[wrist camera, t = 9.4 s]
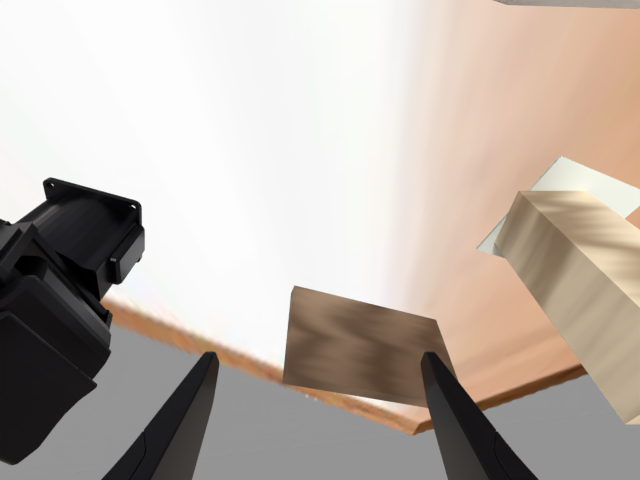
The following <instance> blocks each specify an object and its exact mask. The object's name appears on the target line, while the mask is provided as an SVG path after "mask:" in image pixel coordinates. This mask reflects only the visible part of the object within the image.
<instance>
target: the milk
mask: <svg viewBox="0 0 640 480" xmlns="http://www.w3.org/2000/svg"><path fill="white" fill-rule="evenodd" d="M494 1H497V2H500V3H502V4H506V5H520V6H553V7H585V8H617V9H640V0H494Z"/></svg>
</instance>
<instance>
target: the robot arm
mask: <svg viewBox="0 0 640 480" xmlns="http://www.w3.org/2000/svg"><path fill="white" fill-rule="evenodd" d="M52 184H53V185H54V186H53V185H52ZM43 188H44V192H45V196H46V201H44V202H43V203H41V204H40V205H39V206H37V207H36V208H35V209H33V210H32V211H31V212H29V213H28V214H27V215H25V216H24V217H22V218H21V219H20V220H18V221H17V222H16V223H14V224H11V223H10V222H9V221H5V220H2V219H0V461H1V462H4V463H6V464H8V465H16V464H18V463H20V462H21V461H22V460H24V459H25V458H26V457H27V456H29V455H30V454H31V453H33V452H34V451H35V450H36V449H38V448H39V447H40V445H41V444H42V443H43V442H44V440H45V439H46V438H47V436H48V435H49V434H50V432H51V431H52V430H53V428H54V427H55V426H56V425H57V423H58V422H59V421H60V420H61V419H62V417H63V416H64V415H65V414H66V413H67V412H68V411H69V410H70V409H71V408H72V407H73V406H74V405H75V404H76V403H77V402H78V401H79V400H81V399H82V398H83V397H85V396H86V395H87V394H89V393H90V392H91V391H93V390H94V389H95V388H96V387H97V383H96V382H94V381H93V379H94V378H95V376H96V375H97V374H98V373H99V371H100V370H101V369H102V367H103V366H104V365H105V363H106V362H107V360H108V358H109V356H110V354H111V350H110V349H109V347H110V341H111V333H110V331H109V330H110V326H111V322H112V317H113V314H112V313H111V312H110V311H109V310H106V309H105V307H104V306H103V305H102V304H101V303H100V301H101V300H102V298H103V297H104V296H105V294H106V293H107V292H108V290H109V289H110V287H111V286H112V285H113V284H115V285H119V284H121V283H122V282H123V281H124V279H125V278H126V277H127V275H128V274H129V272H130V271H131V269H132V268H133V266H134V265H135V264H136V263H138V262H140V260H141V259H142V254H143V252H144V251H145V229H144V227H143V226H142V206H141V204H140V203H139V202H138V201H136V200H133V199H129V198H126V197H122V196H118V195H115V194H111V193H107V192H104V191H100V190H96V189H93V188H89V187H85V186H82V185H78V184H74V183H71V182H67V181H64V180H60V179H56V178H52V177H49V178H47V179H46V180H44V181H43ZM132 205H133V206H134V207H135V208H134V207H133V206H132ZM218 371H219V359H218V357H217V354H216V352H215V351H206V352H205V353H204V354H203V355H202V356H201V358H200V359H199V360H198V361H197V363H196V364H195V365H194V366H193V368H192V369H191V370H190V371H189V373H188V374H187V375H186V377H185V378H184V379H183V380H182V382H181V383H180V384H179V385H178V387H177V388H176V389H175V391H174V392H173V393H172V394H171V396H170V397H169V398H168V399H167V401H166V402H165V403H164V405H163V406H162V407H161V408H160V410H159V411H158V412H157V413H156V415H155V416H154V417H153V419H152V420H151V421H150V422H149V424H148V425H147V426H146V427H145V429H144V431H142V432H141V434H140V435H139V436H138V438H137V439H136V440H135V441H134V443H133V444H132V445H131V446H130V447H129V449H128V450H127V451H126V452H125V454H124V455H123V456H122V457H121V458H120V459H119V460H118V461H117V463H116V464H115V465H114V466H113V467H112V468H111V469H110V470H109V471H108V473H107V474H106V475H105V476H104V477H103V478H102V479H101V480H192V478H193V475H194V471H195V467H196V464H197V460H198V456H199V453H200V449H201V446H202V442H203V438H204V435H205V431H206V428H207V424H208V420H209V417H210V413H211V409H212V406H213V401H214V396H215V390H216V384H217V377H218ZM421 371H422V377H423V384H424V390H425V396H426V401H427V406H428V409H429V413H430V417H431V420H432V424H433V428H434V431H435V435H436V438H437V442H438V446H439V449H440V453H441V456H442V460H443V464H444V467H445V471H446V475H447V478H448V480H539V479H538V478H537V477H536V476H535V475H534V474H533V473H532V471H531V470H530V469H529V468H528V467H527V466H526V465H525V464H524V463H523V461H522V460H521V459H520V458H519V457H518V456H517V455H516V454H515V452H514V451H513V450H512V449H511V447H510V446H509V445H508V444H507V443H506V441H505V440H504V439H503V438H502V436H501V435H500V434H499V432H498V431H496V429H495V427H494V426H493V425H492V424H491V422H490V421H489V420H488V419H487V417H486V416H485V415H484V413H483V412H482V411H481V410H480V408H479V407H478V406H477V405H476V403H475V402H474V401H473V399H472V398H471V397H470V396H469V394H468V393H467V392H466V391H465V389H464V388H463V387H462V385H461V384H460V383H459V382H458V380H457V379H456V378H455V377H454V375H453V374H452V373H451V371H450V370H449V369H448V368H447V366H446V365H445V364H444V363H443V361H442V360H441V359H440V358H439V356H438V355H437V354H436V353H435V352H434V351H425V352H424V354H423V357H422V359H421Z"/></svg>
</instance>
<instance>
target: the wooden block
mask: <svg viewBox="0 0 640 480" xmlns="http://www.w3.org/2000/svg"><path fill="white" fill-rule="evenodd" d="M494 243H495V244H496V246H497V247H498V248H499V250H500V251H501V253H502V254H503V255H504V257H505V258H506V260H507V261H508V262H509V264H510V265H511V267H512V268H513V269H514V271H515V272H516V274H517V275H518V276H519V278H520V279H521V281H522V282H523V283H524V285H525V286H526V287H527V289H528V290H529V292H530V293H531V294H532V296H533V297H534V299H535V300H536V301H537V303H538V304H539V306H540V307H541V308H542V310H543V311H544V313H545V314H546V315H547V317H548V318H549V320H550V321H551V322H552V324H553V325H554V326H555V328H556V329H557V331H558V332H559V333H560V335H561V336H562V338H563V339H564V340H565V342H566V343H567V345H568V346H569V347H570V349H571V350H572V352H573V353H574V354H575V356H576V357H577V359H578V360H579V361H580V363H581V364H582V365H583V367H584V368H585V370H586V371H587V372H588V374H589V375H590V377H591V378H592V379H593V381H594V382H595V384H596V385H597V386H598V388H599V389H600V391H601V392H602V393H603V395H604V396H605V398H606V399H607V400H608V402H609V403H610V404H611V406H612V407H613V409H614V410H615V411H616V413H617V414H618V415H619V417H620V418H621V420H622V421H623V422H624V424H640V229H638V228H637V227H635V226H634V225H633V224H631V223H630V222H628V221H627V220H626V219H624V218H623V217H621V216H620V215H619V214H617V213H616V212H614V211H613V210H612V209H610V208H609V207H608V206H606V205H605V204H603V203H602V202H601V201H599V200H598V199H596V198H595V197H594V196H592V195H591V194H589V193H588V192H587V191H518V193H517V195H516V197H515V199H514V201H513V204H512V206H511V208H510V210H509V212H508V214H507V216H506V219H505V221H504V223H503V225H502V227H501V229H500V232H499V234H498V236H497V238H496V240H495V242H494Z"/></svg>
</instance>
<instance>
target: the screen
mask: <svg viewBox="0 0 640 480" xmlns="http://www.w3.org/2000/svg"><path fill="white" fill-rule="evenodd" d="M425 351H434V352H435V353H436V354H437V355H438V356H439V358H440V359H441V360H442V361H443V363H444V364H445V365H446V366H447V368H448V369H449V370H450V371H451V373H452V374H453V375H454V377H455V378H456V379H457V376H456V373H455V370H454V368H453V365H452V362H451V359H450V357H449V354H448V351H447V348H446V346H445V343H444V340H443V337H442V335H441V332H440V329H439V326H438V324H437V321H436V320H435V319H431V318H427V317H423V316H419V315H415V314H411V313H407V312H402V311H398V310H394V309H390V308H386V307H382V306H378V305H374V304H370V303H365V302H361V301H357V300H353V299H349V298H345V297H341V296H337V295H333V294H328V293H324V292H320V291H316V290H312V289H308V288H304V287H300V286H295V285H294V288H293V290H292V292H291V298H290V308H289V319H288V329H287V339H286V350H285V360H284V370H283V381H282V384H288V385H294V386H300V387H306V388H311V389H317V390H323V391H329V392H335V393H341V394H347V395H353V396H359V397H365V398H371V399H377V400H383V401H389V402H395V403H401V404H407V405H412V406H418V407H424V408H428V406H427V401H426V396H425V390H424V384H423V377H422V371H421V359H422V357H423V354H424V352H425ZM457 380H458V379H457ZM458 382H459V381H458Z"/></svg>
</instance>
